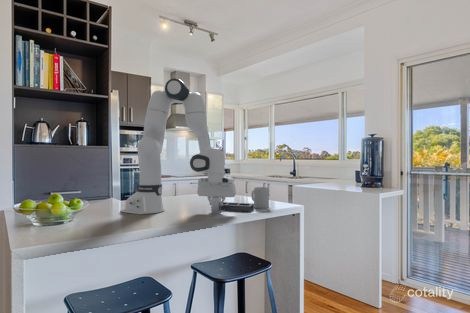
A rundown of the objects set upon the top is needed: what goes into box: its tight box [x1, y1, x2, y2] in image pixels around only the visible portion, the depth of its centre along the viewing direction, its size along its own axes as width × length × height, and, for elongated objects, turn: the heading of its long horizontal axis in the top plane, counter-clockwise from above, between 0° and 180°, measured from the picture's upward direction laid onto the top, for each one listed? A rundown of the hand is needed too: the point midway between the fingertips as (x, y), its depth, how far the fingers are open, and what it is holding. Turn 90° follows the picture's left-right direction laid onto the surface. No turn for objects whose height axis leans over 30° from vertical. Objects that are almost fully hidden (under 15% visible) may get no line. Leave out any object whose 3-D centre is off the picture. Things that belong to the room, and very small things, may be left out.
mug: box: [251, 186, 270, 210], centre depth 171 cm, size 12×8×11 cm
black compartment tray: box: [221, 201, 255, 213], centre depth 163 cm, size 21×9×3 cm, turn 73°
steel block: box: [210, 197, 222, 214], centre depth 155 cm, size 4×4×8 cm
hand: (216, 205), depth 155 cm, fingers closed on steel block, 4 cm apart
